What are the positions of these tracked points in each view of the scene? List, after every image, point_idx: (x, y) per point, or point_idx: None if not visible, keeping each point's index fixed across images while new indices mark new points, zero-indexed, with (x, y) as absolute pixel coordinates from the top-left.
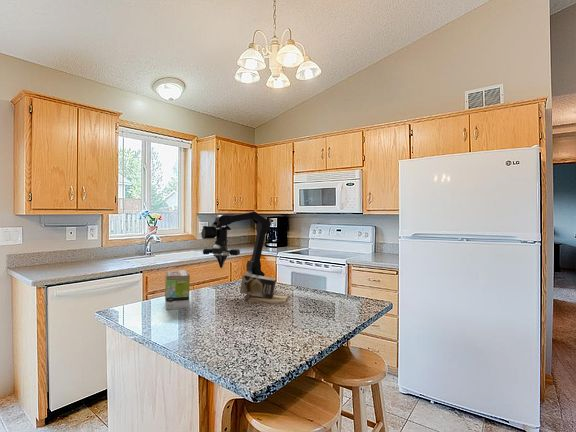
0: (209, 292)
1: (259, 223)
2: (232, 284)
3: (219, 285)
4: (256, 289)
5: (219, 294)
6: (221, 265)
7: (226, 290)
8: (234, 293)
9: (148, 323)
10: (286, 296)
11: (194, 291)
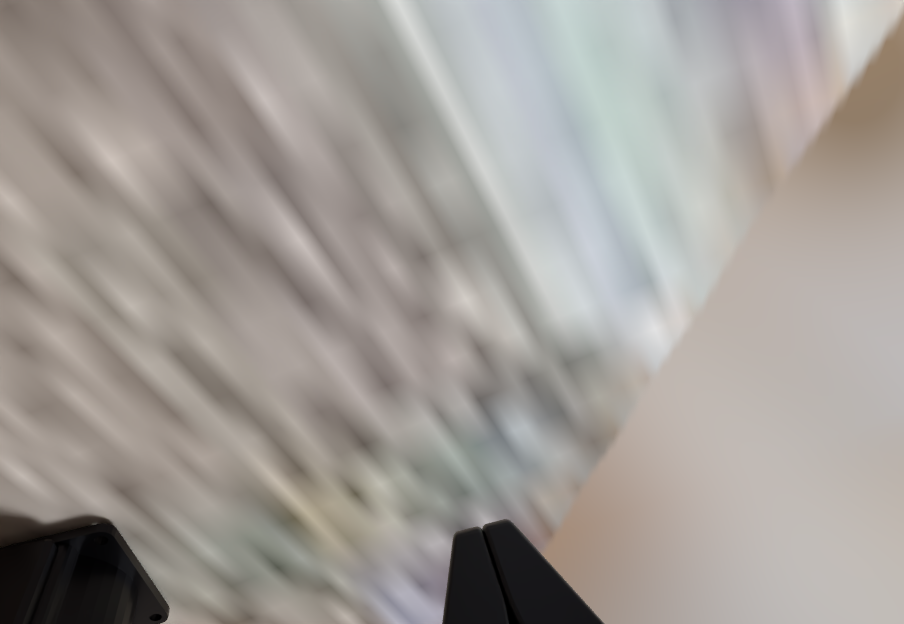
0: (555, 126)
1: None
2: None
3: (575, 481)
4: None
5: (326, 59)
6: (479, 607)
7: (365, 329)
8: (122, 223)
9: None
10: None
11: (798, 96)
